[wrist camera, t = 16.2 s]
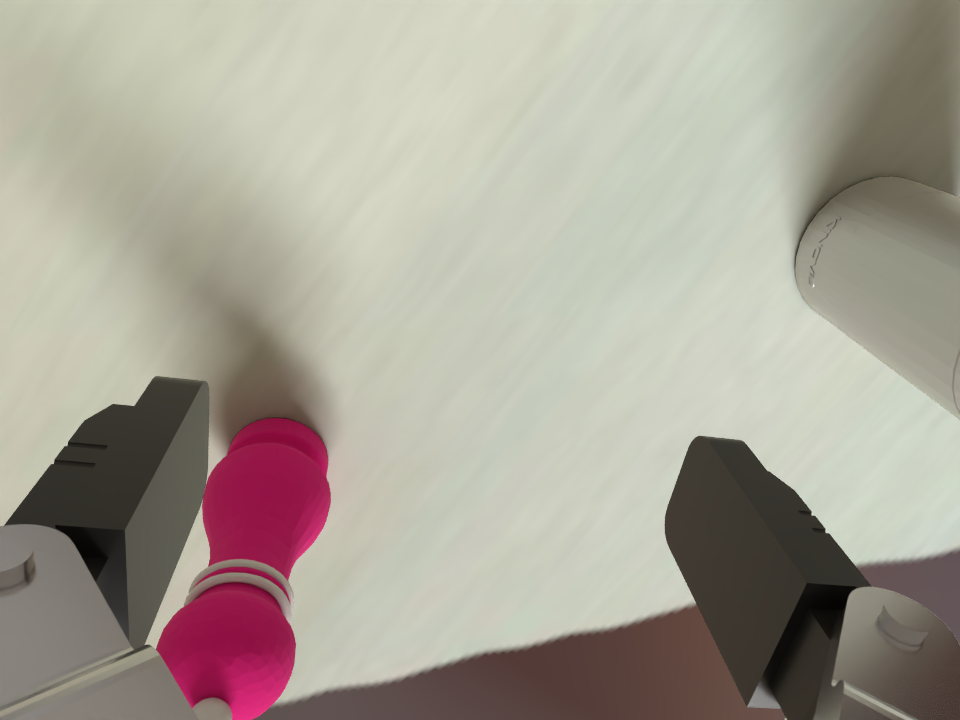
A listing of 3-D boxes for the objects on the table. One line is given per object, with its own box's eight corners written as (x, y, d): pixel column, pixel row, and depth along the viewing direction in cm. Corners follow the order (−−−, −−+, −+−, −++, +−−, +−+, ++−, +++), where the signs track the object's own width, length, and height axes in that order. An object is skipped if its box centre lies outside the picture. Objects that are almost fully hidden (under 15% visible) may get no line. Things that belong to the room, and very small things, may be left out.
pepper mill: (273, 388, 44) (188, 648, 26) (359, 457, 47) (334, 734, 29) (197, 459, 46) (68, 748, 28) (284, 521, 49) (217, 820, 31)
